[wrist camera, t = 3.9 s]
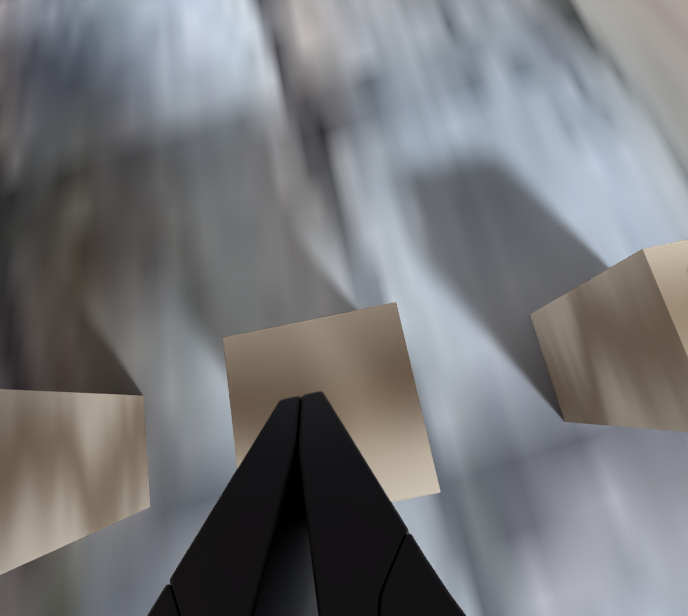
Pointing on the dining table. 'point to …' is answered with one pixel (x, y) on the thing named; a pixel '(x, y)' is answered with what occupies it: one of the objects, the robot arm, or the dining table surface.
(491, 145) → the dining table surface
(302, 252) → the dining table surface
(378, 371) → the plain block
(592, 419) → the marked block 1
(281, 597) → the robot arm
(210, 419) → the dining table surface
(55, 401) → the marked block 2
